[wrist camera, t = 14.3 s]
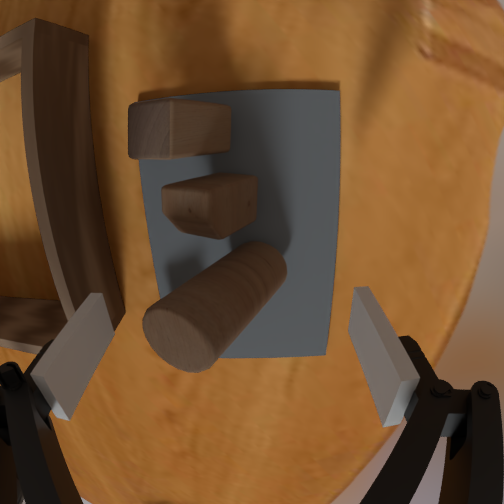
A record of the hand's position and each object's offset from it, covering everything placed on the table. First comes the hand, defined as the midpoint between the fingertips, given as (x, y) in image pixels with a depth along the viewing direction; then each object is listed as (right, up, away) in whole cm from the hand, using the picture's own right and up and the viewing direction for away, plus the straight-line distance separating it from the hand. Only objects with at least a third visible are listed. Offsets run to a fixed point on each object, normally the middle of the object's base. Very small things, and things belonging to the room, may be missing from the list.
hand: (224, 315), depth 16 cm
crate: (-25, +8, +7) cm, 27 cm away
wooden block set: (-1, +5, +7) cm, 9 cm away
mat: (+1, +4, +8) cm, 9 cm away
